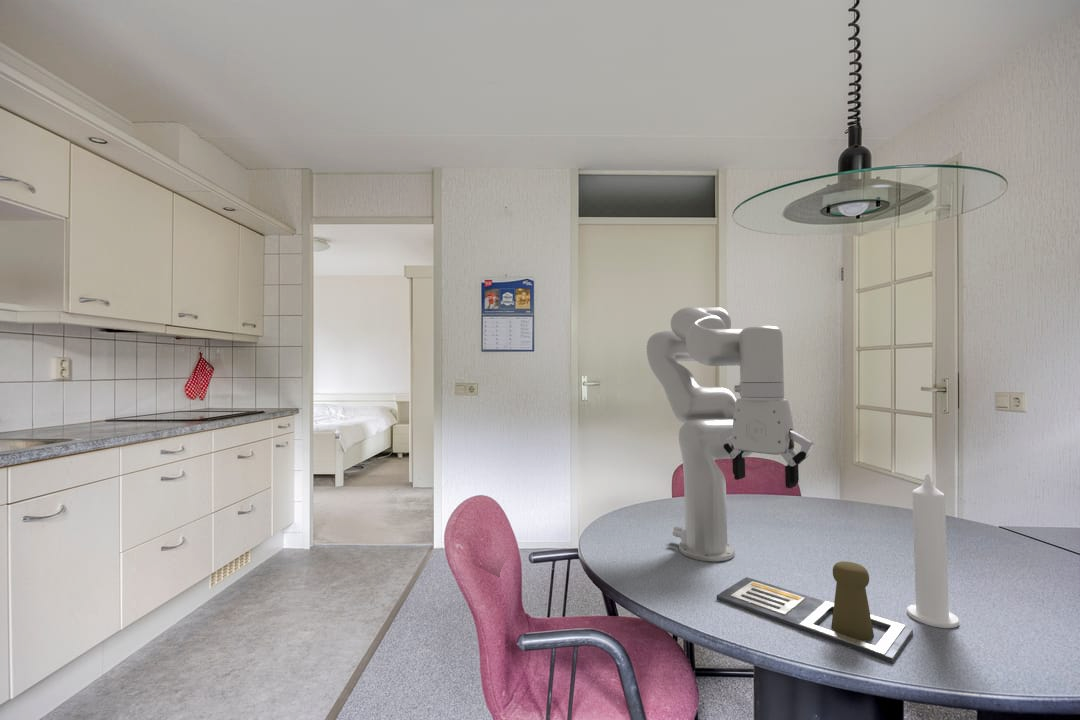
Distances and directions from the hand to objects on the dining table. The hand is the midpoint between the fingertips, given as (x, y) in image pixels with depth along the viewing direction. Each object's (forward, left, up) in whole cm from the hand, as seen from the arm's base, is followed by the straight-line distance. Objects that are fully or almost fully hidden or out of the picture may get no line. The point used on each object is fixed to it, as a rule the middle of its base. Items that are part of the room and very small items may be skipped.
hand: (764, 482), depth 93 cm
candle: (+22, +15, -22) cm, 35 cm away
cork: (+14, 0, -22) cm, 27 cm away
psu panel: (+7, 0, -22) cm, 23 cm away
